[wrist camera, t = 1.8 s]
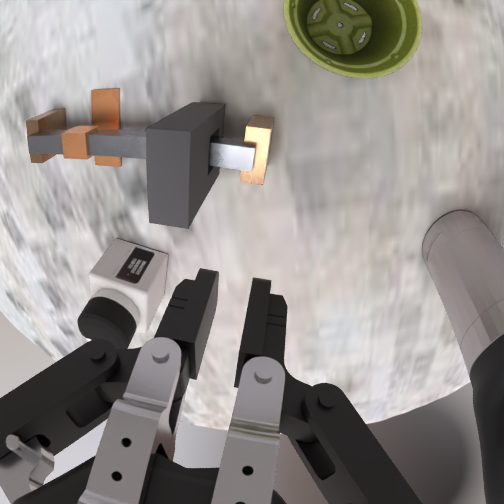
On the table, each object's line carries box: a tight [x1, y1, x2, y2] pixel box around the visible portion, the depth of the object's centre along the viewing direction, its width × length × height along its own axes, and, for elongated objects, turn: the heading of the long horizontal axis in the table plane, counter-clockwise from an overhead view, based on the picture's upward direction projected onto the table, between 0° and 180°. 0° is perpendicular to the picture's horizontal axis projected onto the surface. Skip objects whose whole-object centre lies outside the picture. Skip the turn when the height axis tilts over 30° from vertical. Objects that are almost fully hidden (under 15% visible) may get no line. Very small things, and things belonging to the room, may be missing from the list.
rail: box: [26, 89, 274, 185], centre depth 27 cm, size 26×9×6 cm, turn 84°
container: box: [78, 239, 168, 349], centre depth 36 cm, size 8×8×13 cm
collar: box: [146, 102, 225, 229], centre depth 24 cm, size 3×7×10 cm, turn 174°
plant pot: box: [283, 0, 422, 78], centre depth 18 cm, size 9×9×9 cm
